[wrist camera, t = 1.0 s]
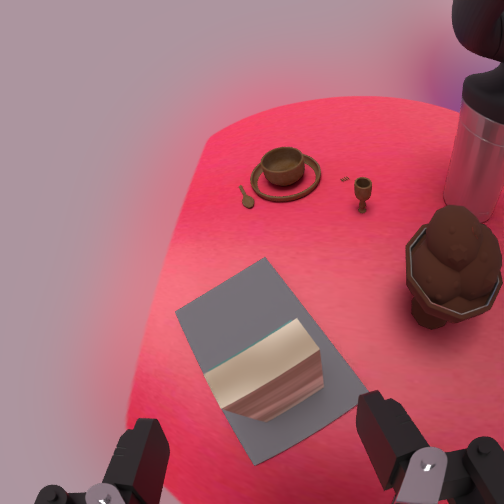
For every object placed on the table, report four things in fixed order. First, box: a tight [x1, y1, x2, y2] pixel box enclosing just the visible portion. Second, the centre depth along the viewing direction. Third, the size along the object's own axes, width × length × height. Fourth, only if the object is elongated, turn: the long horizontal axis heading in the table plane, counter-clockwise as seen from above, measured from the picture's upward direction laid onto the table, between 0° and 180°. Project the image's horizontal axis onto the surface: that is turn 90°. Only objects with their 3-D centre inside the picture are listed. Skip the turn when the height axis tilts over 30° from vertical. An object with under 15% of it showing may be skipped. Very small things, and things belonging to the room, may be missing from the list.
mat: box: [175, 257, 369, 466], centre depth 32 cm, size 22×14×1 cm, turn 29°
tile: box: [204, 318, 324, 423], centre depth 23 cm, size 3×7×14 cm, turn 119°
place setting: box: [239, 147, 372, 213], centre depth 45 cm, size 18×20×6 cm
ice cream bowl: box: [406, 205, 503, 330], centre depth 24 cm, size 11×11×15 cm
